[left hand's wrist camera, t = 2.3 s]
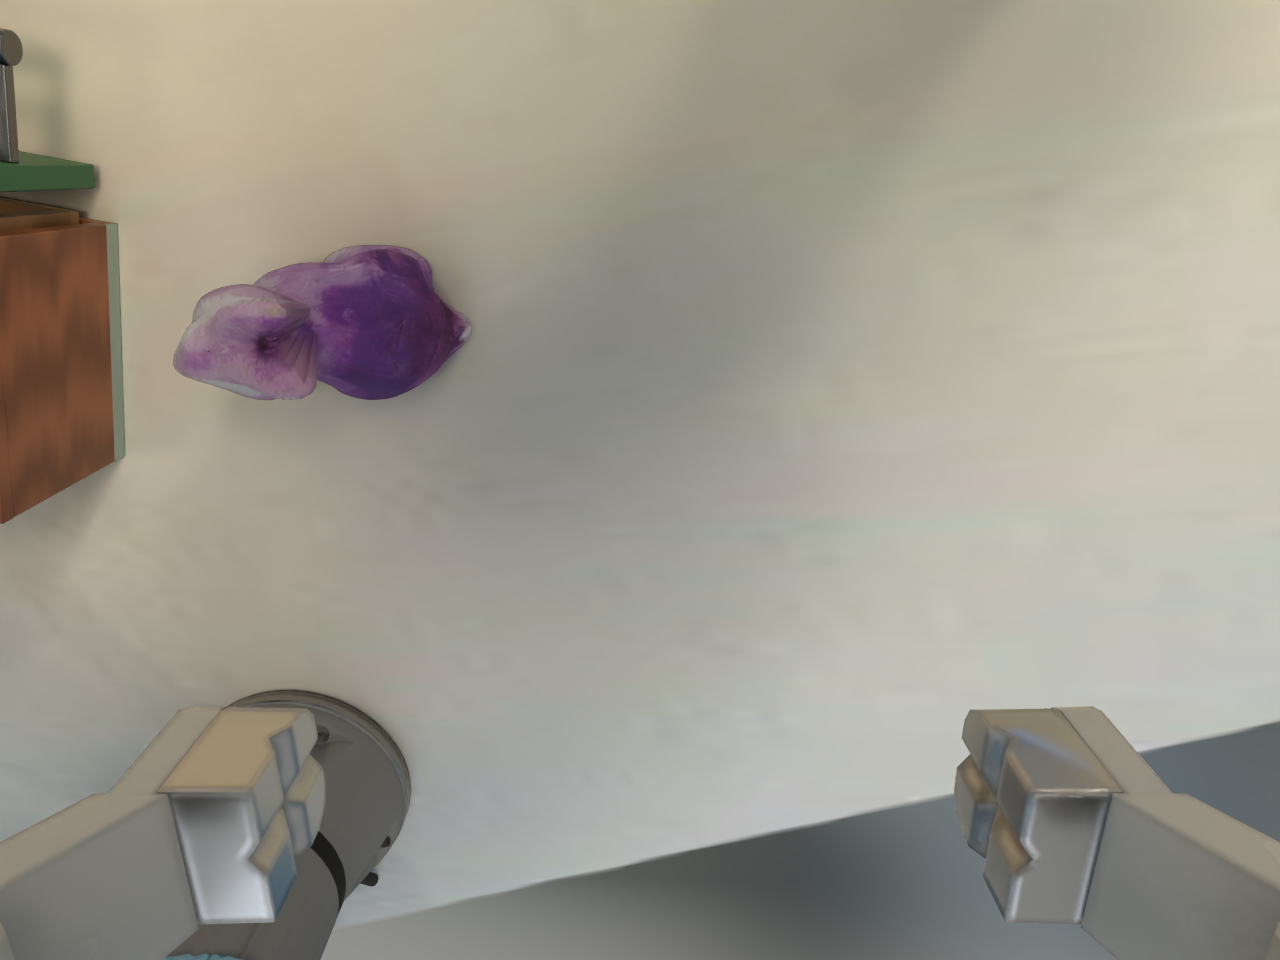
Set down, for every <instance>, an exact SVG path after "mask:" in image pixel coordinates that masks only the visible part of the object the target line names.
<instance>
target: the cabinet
mask: <svg viewBox="0 0 1280 960" xmlns="http://www.w3.org/2000/svg"><path fill="white" fill-rule="evenodd" d="M79 223H80V224H74V225H65V226H55V227H45V228H36V229H26V230H16V231H7V232H0V523H1V524H3V523H5V522H7V521H9V520H10V519H12V518H13V517H15V516H17V515H19V514H21V513H22V512H24V511H26V510H28V509H30V508H31V507H33V506H35V505H37V504H38V503H40V502H42V501H44V500H46V499H47V498H49V497H51V496H53V495H54V494H56V493H58V492H60V491H62V490H63V489H65V488H67V487H69V486H71V485H72V484H74V483H76V482H78V481H79V480H81V479H83V478H85V477H87V476H88V475H90V474H92V473H94V472H95V471H97V470H99V469H101V468H103V467H104V466H106V465H108V464H110V463H112V462H113V461H117V460H119V459H120V458H122V457H124V456H125V440H124V409H123V377H122V346H121V315H120V283H119V252H118V224H117V223H109V222H104V221H98V220H93V219H87V218H81V217H79Z"/></svg>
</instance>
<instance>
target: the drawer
mask: <svg viewBox="0 0 1280 960" xmlns="http://www.w3.org/2000/svg"><path fill="white" fill-rule="evenodd" d="M22 53H23V51H22V44H21V41H20V39H19V37H18V36H17V35H16V34H15V33H14V32H13V31H11V30H6V29H1V28H0V192H12V191H37V190H61V189H85V188H94V187H95V184H94V166H93V165H91V164H85V163H80V162H74V161H69V160H63V159H58V158H52V157H47V156H41V155H36V154H31V153H25V152H20V151H18V138H17V123H16V108H15V94H14V79H13V67H12V66H14V65H17V64H19V63H20V61H21V59H22ZM11 65H12V66H11ZM74 224H80V223H79V212H78V211H74V210H68V209H62V208H57V207H51V206H46V205H40V204H35V203H29V202H24V201H18V200H12V199H7V198H1V197H0V232H7V231H16V230H26V229H36V228H45V227H55V226H65V225H74Z"/></svg>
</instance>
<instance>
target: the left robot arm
mask: <svg viewBox="0 0 1280 960" xmlns="http://www.w3.org/2000/svg"><path fill="white" fill-rule="evenodd" d="M317 739H318V734H317V729H316V723H315V718H314V715H313V714H312V713H311V712H310V711H309V710H308V709H299V708H252V707H228V708H225V707H188V708H185V709H182V710H179V711H178V712H177V713H176V714H175V715H174V716H173V718H172V719H171V720H170V721H169V722H168V723H167V725H166V726H165V727H164V728H163V729H162V730H161V732H160V733H159V734H158V735H157V736H156V737H155V739H154V740H153V741H152V742H151V743H150V744H149V746H148V747H147V748H146V749H145V750H144V751H143V753H142V754H141V755H140V756H139V757H138V758H137V760H136V761H135V762H134V763H133V764H132V765H131V767H130V768H129V769H128V770H127V771H126V773H125V774H124V775H123V776H122V777H121V778H120V780H119V781H118V782H117V783H116V784H115V785H114V787H113V788H112V789H111V790H110V791H109V792H108V794H93V795H91V796H89V797H87V798H85V799H83V800H81V801H79V802H77V803H75V804H74V805H72V806H70V807H68V808H66V809H64V810H62V811H60V812H58V813H56V814H54V815H52V816H50V817H48V818H47V819H45V820H43V821H41V822H39V823H37V824H35V825H33V826H31V827H29V828H27V829H25V830H23V831H21V832H20V833H18V834H16V835H14V836H12V837H10V838H8V839H6V840H4V841H2V842H0V960H163V959H164V958H165V957H166V956H168V955H169V954H170V953H171V952H172V951H173V950H175V949H176V948H177V947H178V946H179V945H180V944H182V943H183V942H184V941H185V940H186V939H187V938H189V937H190V936H191V935H192V934H193V933H194V932H196V931H197V930H198V929H199V925H198V924H230V923H264V922H275V920H276V918H277V916H278V914H279V912H280V910H281V908H282V906H283V904H284V902H285V900H286V898H287V896H288V894H289V892H290V890H291V888H292V885H293V883H294V881H295V879H296V877H297V872H296V866H295V860H294V859H295V858H296V857H298V856H299V855H301V854H302V853H303V852H305V851H306V850H307V849H309V848H310V847H311V846H312V844H313V842H314V840H315V837H316V835H317V833H318V831H319V829H320V825H321V820H322V816H323V811H324V806H325V778H324V771H323V767H322V766H321V765H320V764H319V763H318V762H317V761H316V760H315V759H314V758H313V757H312V756H311V755H310V752H311V750H312V748H313V746H314V745H315V743H316V741H317ZM962 739H963V741H964V743H965V745H966V746H967V748H968V750H969V752H970V755H969V756H968V757H967V758H966V759H965V760H964V761H963V762H962V763H961V764H960V765H959V766H958V767H957V772H956V780H955V789H954V793H955V803H956V814H957V817H958V821H959V824H960V828H961V831H962V833H963V835H964V837H965V840H966V842H967V844H968V846H969V847H970V848H971V849H973V850H974V851H975V852H977V853H978V854H979V855H981V856H982V857H984V858H985V859H986V860H985V866H984V872H983V877H984V879H985V881H986V883H987V885H988V887H989V890H990V891H991V894H992V896H993V898H994V900H995V902H996V904H997V906H998V908H999V910H1000V912H1001V914H1002V916H1003V918H1004V920H1005V922H1015V923H1049V924H1082V925H1081V929H1083V930H1084V931H1085V932H1086V933H1087V934H1088V935H1090V936H1091V937H1092V938H1093V939H1094V940H1095V941H1097V942H1098V943H1099V944H1100V945H1101V946H1102V947H1104V948H1105V949H1106V950H1107V951H1108V952H1109V953H1110V954H1112V955H1113V956H1114V957H1115V958H1116V959H1118V960H1280V842H1278V841H1276V840H1274V839H1272V838H1270V837H1268V836H1266V835H1264V834H1262V833H1260V832H1258V831H1256V830H1255V829H1253V828H1251V827H1249V826H1247V825H1245V824H1243V823H1241V822H1239V821H1237V820H1235V819H1233V818H1231V817H1229V816H1228V815H1226V814H1224V813H1222V812H1220V811H1218V810H1216V809H1214V808H1212V807H1210V806H1208V805H1206V804H1204V803H1203V802H1201V801H1199V800H1197V799H1195V798H1193V797H1191V796H1189V795H1187V794H1172V792H1171V791H1170V790H1169V789H1168V788H1167V787H1166V785H1165V784H1164V783H1163V782H1162V781H1161V780H1160V778H1159V777H1158V776H1157V775H1156V774H1155V773H1154V771H1153V770H1152V769H1151V768H1150V767H1149V766H1148V764H1147V763H1146V762H1145V761H1144V760H1143V759H1142V757H1141V756H1140V755H1139V754H1138V753H1137V752H1136V750H1135V749H1134V748H1133V747H1132V746H1131V745H1130V743H1129V742H1128V741H1127V740H1126V739H1125V738H1124V736H1123V735H1122V734H1121V733H1120V732H1119V731H1118V729H1117V728H1116V727H1115V726H1114V725H1113V724H1112V722H1111V721H1110V720H1109V719H1108V718H1107V717H1106V715H1105V714H1104V713H1103V712H1102V711H1101V710H1098V709H1096V708H1094V707H1092V706H1086V707H1055V708H1051V709H982V710H969V712H968V715H967V717H966V719H965V721H964V727H963V733H962Z"/></svg>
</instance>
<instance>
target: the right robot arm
mask: <svg viewBox="0 0 1280 960" xmlns="http://www.w3.org/2000/svg"><path fill="white" fill-rule="evenodd" d="M228 707H252V708H299V709H308V710H309V711H310V712H311V713H312V714H313V715H314V718H315V723H316V729H317V734H318V739H317V741H316V743H315V745H314V746H313V748H312V750H311V752H310V755H311V756H312V757H313V758H314V759H315V760H316V761H317V762H318V763H319V764H320V765H321V766H322V767H323V771H324V778H325V806H324V811H323V816H322V820H321V825H320V829H319V831H318V833H317V835H316V837H315V840H314V842H313V844H312V846H311V847H310V848H309V849H307V850H306V851H305V852H303V853H302V854H301V855H299V856H298V857H296V858H295V859H294V860H295V866H296V872H297V877H296V879H295V881H294V883H293V885H292V888H291V890H290V892H289V894H288V896H287V898H286V900H285V902H284V904H283V906H282V908H281V910H280V912H279V914H278V916H277V918H276V920H275V922H264V923H230V924H198V925H199V929H198V930H197V931H196V932H194V933H193V934H192V935H191V936H190V937H189V938H187V939H186V940H185V941H184V942H183V943H182V944H180V945H179V946H178V947H177V948H176V949H175V950H173V951H172V952H171V953H170V954H169V955H168V956H166V957H165V958H164V959H163V960H320V959H321V957H322V954H323V952H324V949H325V947H326V944H327V942H328V939H329V937H330V934H331V932H332V929H333V927H334V924H335V922H336V919H337V916H338V914H339V911H340V909H341V906H342V904H343V902H344V900H345V899H346V898H347V897H348V896H349V895H350V894H351V892H352V891H353V890H354V889H355V888H356V887H357V886H358V885H359V884H360V883H361V884H364V885H368V886H375V885H376V884H377V882H378V875H377V874H375V873H372V872H371V870H372V869H373V868H374V867H375V866H376V865H377V864H378V863H379V862H380V861H381V859H382V858H383V857H384V856H385V855H386V853H387V852H388V851H389V849H390V848H391V846H392V844H393V843H394V842H395V840H396V838H397V836H398V834H399V832H400V830H401V827H402V825H403V822H404V819H405V816H406V814H407V810H408V807H409V802H410V779H409V775H408V770H407V767H406V765H405V762H404V759H403V757H402V755H401V753H400V752H399V750H398V748H397V747H396V745H395V744H394V742H393V741H392V740H391V738H390V737H389V736H388V735H387V734H386V733H385V732H384V730H383V729H382V728H380V727H379V726H378V725H377V724H376V723H375V722H374V721H372V720H371V719H370V718H368V717H367V716H366V715H364V714H363V713H361V712H360V711H358V710H356V709H354V708H353V707H351V706H349V705H347V704H344V703H342V702H340V701H337V700H335V699H332V698H329V697H326V696H322V695H318V694H313V693H307V692H299V691H275V692H267V693H261V694H257V695H253V696H250V697H247V698H244V699H242V700H239V701H237V702H235V703H233V704H231V705H230V706H228ZM228 707H227V708H228Z"/></svg>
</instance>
